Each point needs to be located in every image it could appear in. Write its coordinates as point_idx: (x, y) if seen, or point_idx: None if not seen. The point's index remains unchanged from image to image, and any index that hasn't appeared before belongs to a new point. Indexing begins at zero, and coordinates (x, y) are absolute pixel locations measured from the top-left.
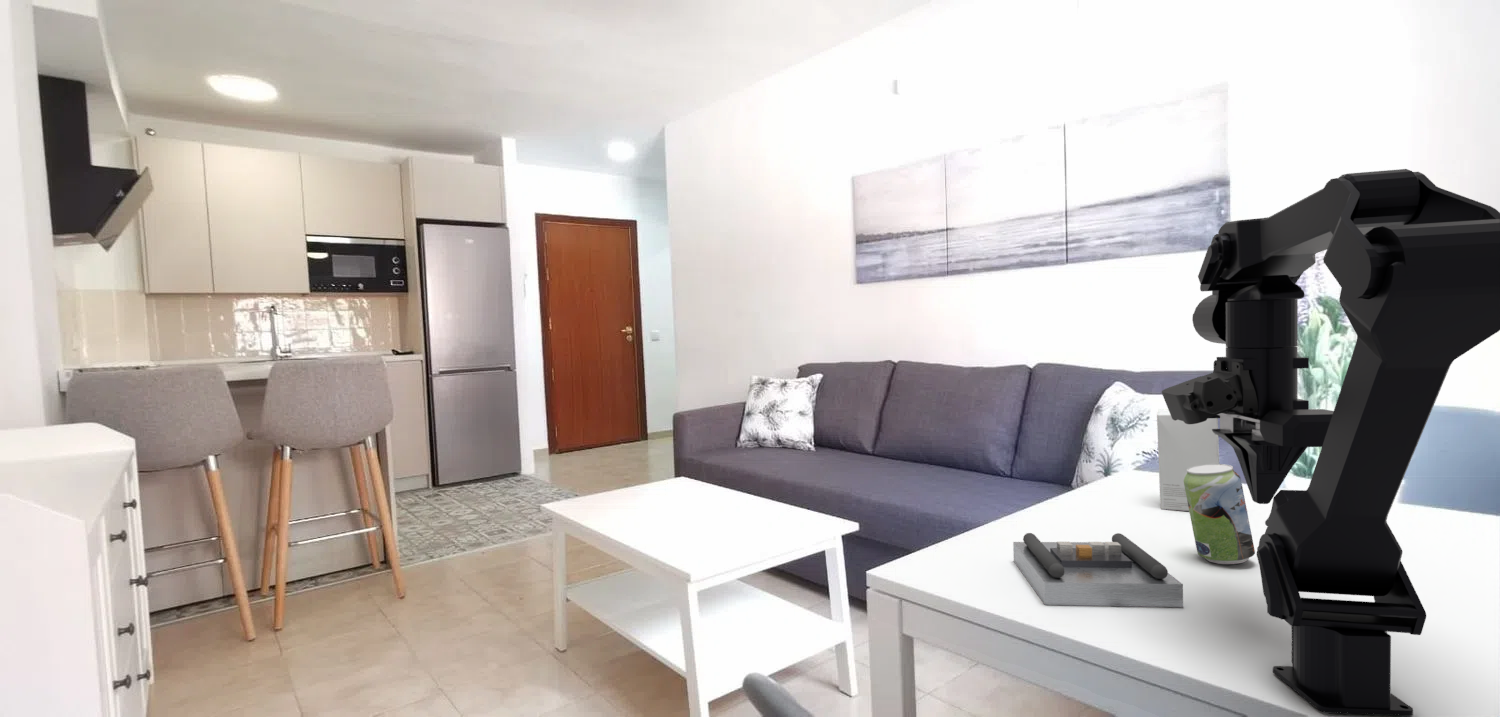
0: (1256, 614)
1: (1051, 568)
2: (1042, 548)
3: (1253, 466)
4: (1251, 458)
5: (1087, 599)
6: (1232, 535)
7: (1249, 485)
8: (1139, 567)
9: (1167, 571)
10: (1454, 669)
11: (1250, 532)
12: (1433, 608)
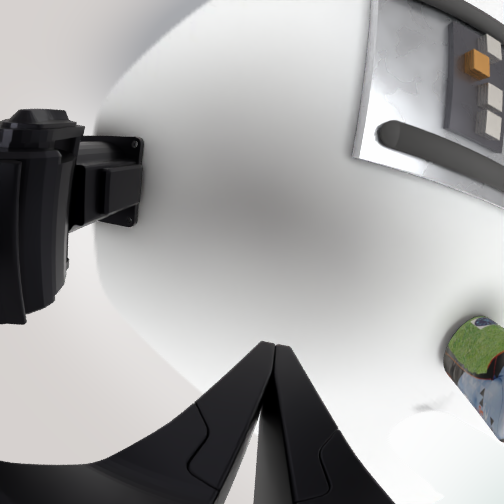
0: (310, 248)
1: None
2: (478, 11)
3: (196, 428)
4: (190, 464)
5: (371, 22)
6: (465, 361)
7: (289, 375)
8: None
9: (386, 144)
10: (155, 329)
11: (459, 388)
12: None
